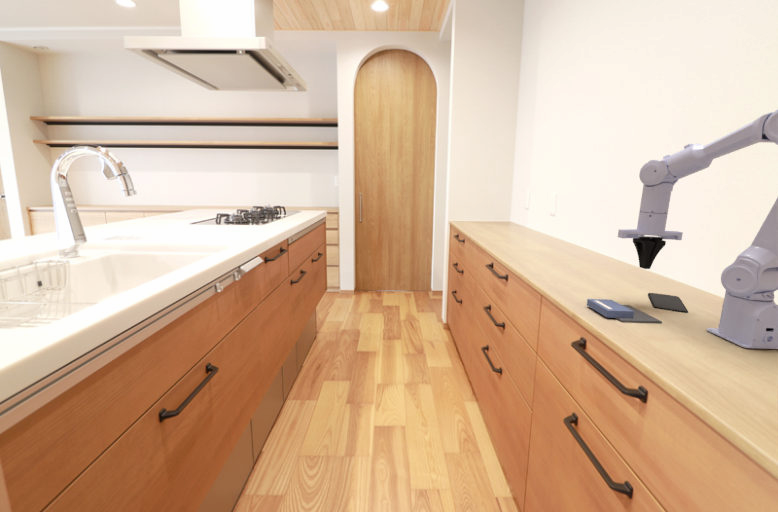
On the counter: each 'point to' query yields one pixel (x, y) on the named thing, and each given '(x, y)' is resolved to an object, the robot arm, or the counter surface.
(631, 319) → the mat
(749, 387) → the counter surface
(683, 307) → the smartphone
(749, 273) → the robot arm
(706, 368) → the counter surface
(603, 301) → the block
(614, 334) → the counter surface
